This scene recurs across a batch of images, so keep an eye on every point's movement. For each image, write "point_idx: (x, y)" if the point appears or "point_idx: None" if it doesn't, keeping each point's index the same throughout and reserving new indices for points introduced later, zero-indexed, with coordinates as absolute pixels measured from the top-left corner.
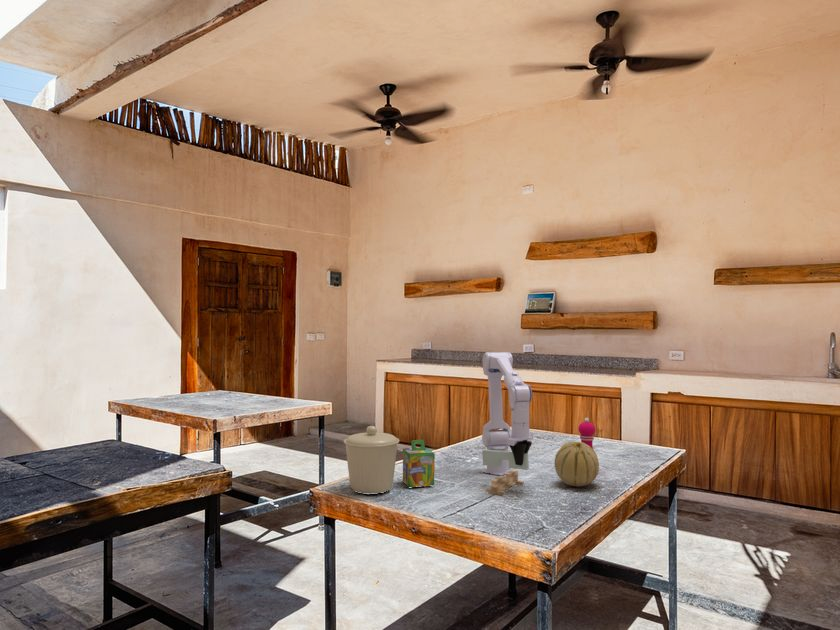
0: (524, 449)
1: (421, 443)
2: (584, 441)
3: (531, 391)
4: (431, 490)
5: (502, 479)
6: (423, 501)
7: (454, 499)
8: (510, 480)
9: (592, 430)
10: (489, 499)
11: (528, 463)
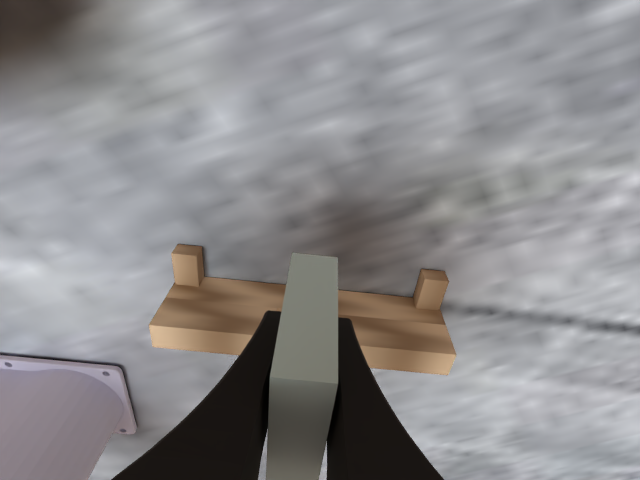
0: (372, 460)
1: None
2: None
3: None
4: (469, 473)
5: (369, 337)
6: (616, 456)
7: (566, 398)
8: (267, 307)
9: None
10: (529, 299)
11: (288, 285)
